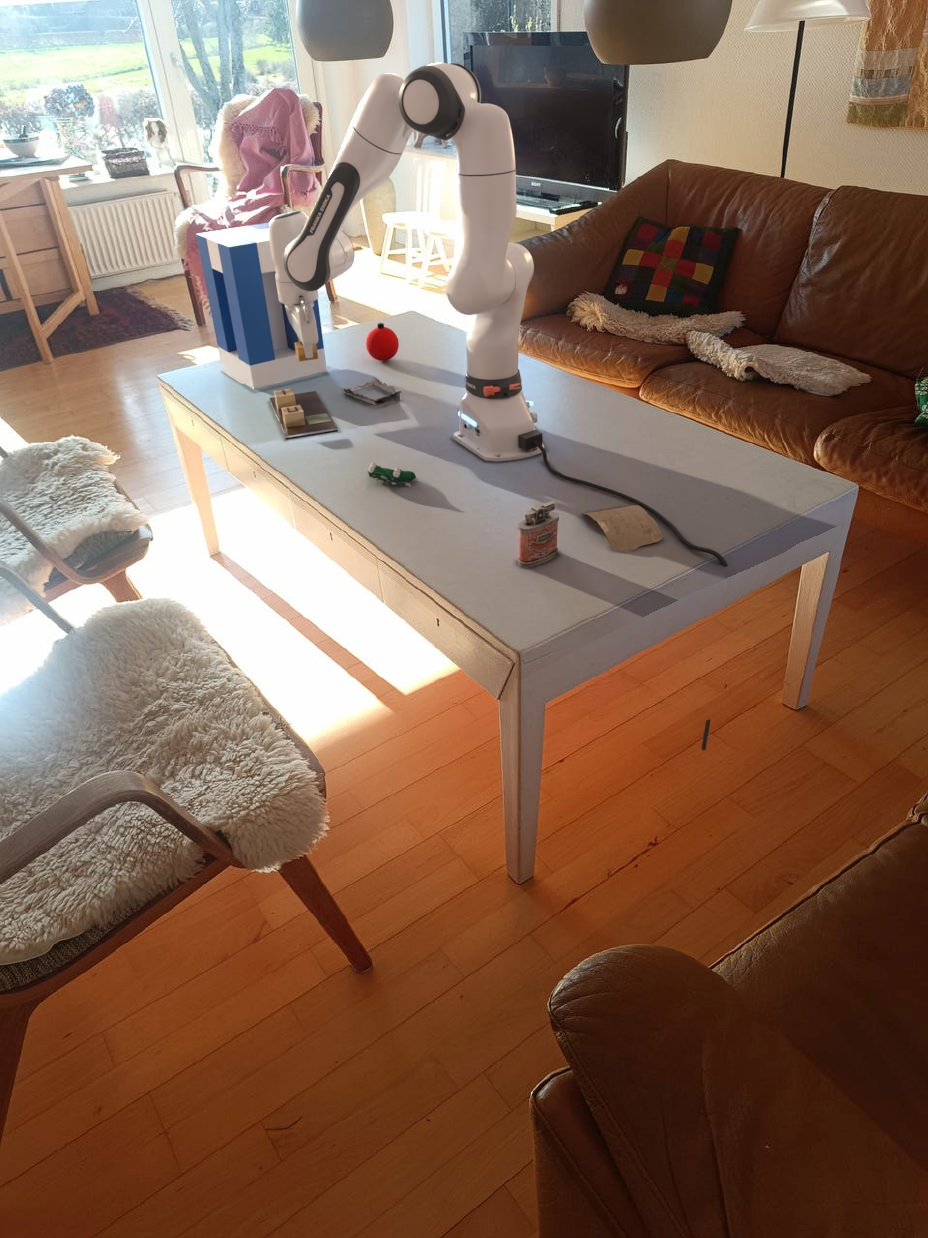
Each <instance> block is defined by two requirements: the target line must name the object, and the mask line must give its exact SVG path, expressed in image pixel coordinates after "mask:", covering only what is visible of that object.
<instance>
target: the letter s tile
mask: <svg viewBox="0 0 928 1238" xmlns="http://www.w3.org/2000/svg"><path fill="white" fill-rule="evenodd" d="M294 344H295V351H296V356H297V358H298V360H299V361H307V360H314V359H318V353H317V346H316V344H313V348H312V351H313V357H312V358H306V357H305V355H304V347H303V344H302V342H294Z"/></svg>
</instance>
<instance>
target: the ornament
mask: <svg viewBox="0 0 928 1238" xmlns="http://www.w3.org/2000/svg"><path fill="white" fill-rule="evenodd" d="M399 343H400V342H399V339H398V335H397V334H396V333H395V331H394V330H392V329H391V328H390V327H387V326H385V323H383V322H379V323H377V325H376V327H374V328H373V329H371V331H369V333H368V335H367V336H366V339H365V347H366V350H367V353H368V354H369V355H370V357H371V358H373V359H374V360H375V361H379V362H386V361H389V360H391V359H393V358H394V357H395V356H396V354H397V352H398V351H399V346H400V344H399Z"/></svg>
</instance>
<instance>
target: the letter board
mask: <svg viewBox="0 0 928 1238" xmlns="http://www.w3.org/2000/svg"><path fill="white" fill-rule="evenodd" d="M268 400H269V402H270V404H271V406H272V408H273V411H274V414H275V416H276V418H277V420H278V422H279V425H280V427H281V429H282V431H283V434H284V436H285V441H288V440H295V439H300V438H301V439H302V438H307V437H315V436H320V435H327V434H333V433H338V432H339V430H338V426H337V424H336V423H335V421H334V419H333V417H332V415H331V414H330V413H329V411H328V409H327V407H326V405H325V403H324V402H323V400H322V398H321V397H320V395H319V394H318V392H317V391H316V390H313V391H306V392H300V393H294V391H293V389H292V388H286V389H285V388H284V389H277V390H273V396H272V397H268Z"/></svg>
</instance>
